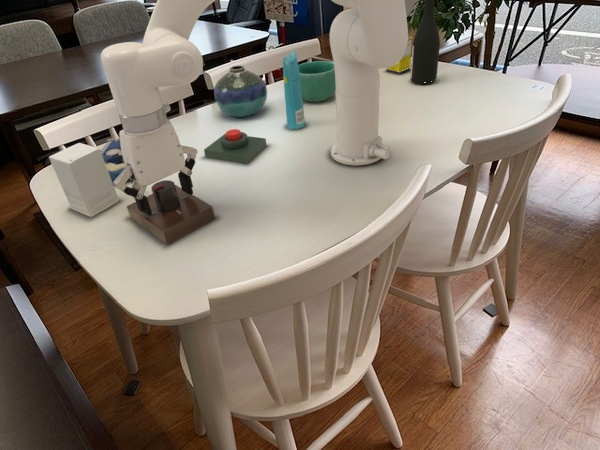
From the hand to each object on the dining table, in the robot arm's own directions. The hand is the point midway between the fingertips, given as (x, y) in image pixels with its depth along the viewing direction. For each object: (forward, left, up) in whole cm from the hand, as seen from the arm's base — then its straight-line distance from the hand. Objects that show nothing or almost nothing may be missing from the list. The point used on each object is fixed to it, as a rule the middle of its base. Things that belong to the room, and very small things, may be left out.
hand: (167, 202), depth 89 cm
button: (+13, -27, 0) cm, 30 cm away
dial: (0, 0, -1) cm, 1 cm away
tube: (+12, -47, -4) cm, 49 cm away
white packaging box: (+18, +8, -4) cm, 20 cm away
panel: (0, 0, -4) cm, 4 cm away
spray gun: (+30, -6, -4) cm, 31 cm away
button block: (+13, -27, -4) cm, 30 cm away
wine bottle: (+3, -96, -4) cm, 96 cm away
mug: (+22, -68, -4) cm, 72 cm away
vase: (+32, -45, -4) cm, 55 cm away
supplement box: (+16, -101, -4) cm, 102 cm away
